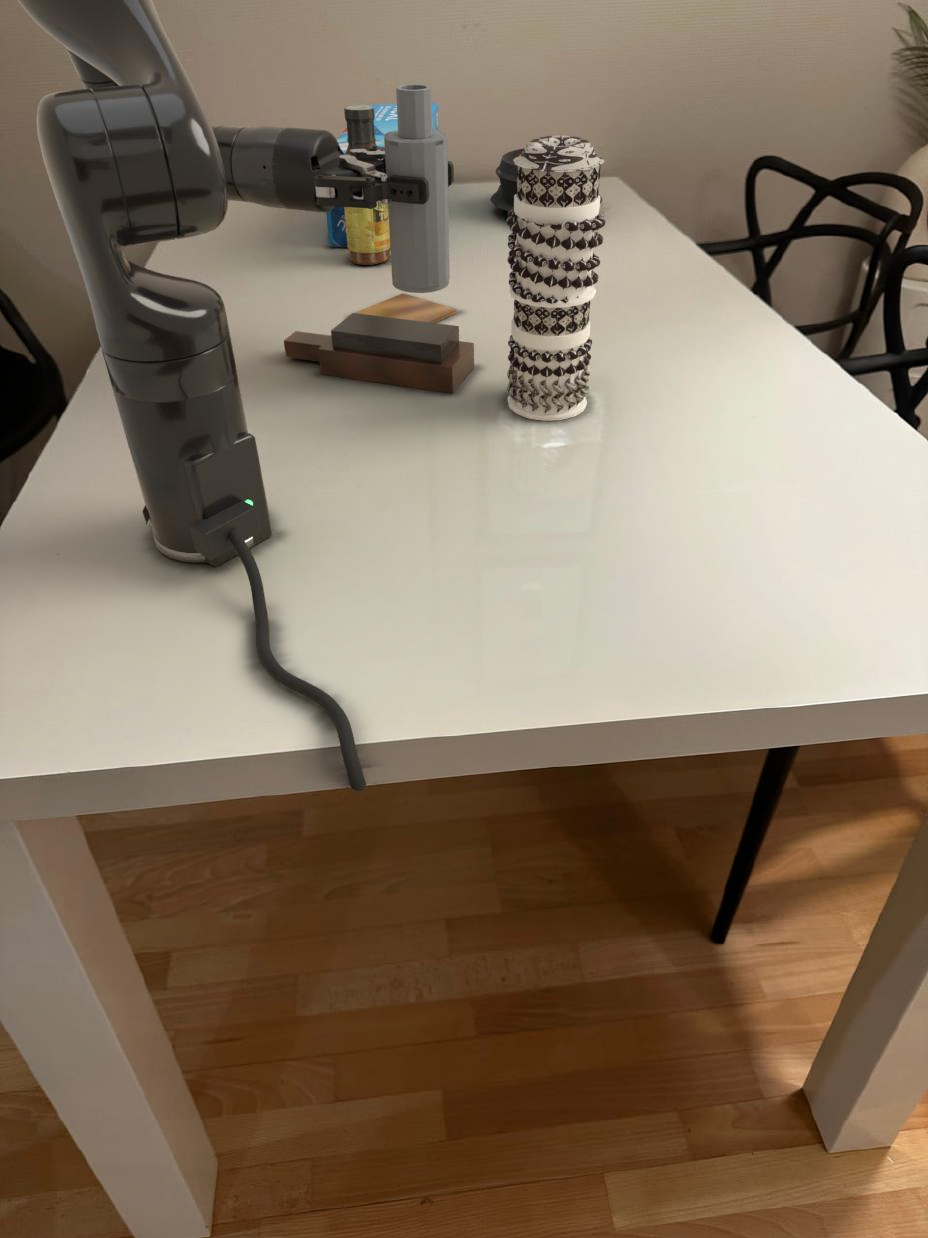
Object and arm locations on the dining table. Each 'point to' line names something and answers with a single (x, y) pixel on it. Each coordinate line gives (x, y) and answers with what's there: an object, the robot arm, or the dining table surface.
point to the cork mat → (410, 309)
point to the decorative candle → (553, 276)
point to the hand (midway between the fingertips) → (439, 182)
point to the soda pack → (382, 125)
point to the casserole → (508, 181)
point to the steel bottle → (418, 226)
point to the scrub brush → (388, 352)
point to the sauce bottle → (364, 224)
